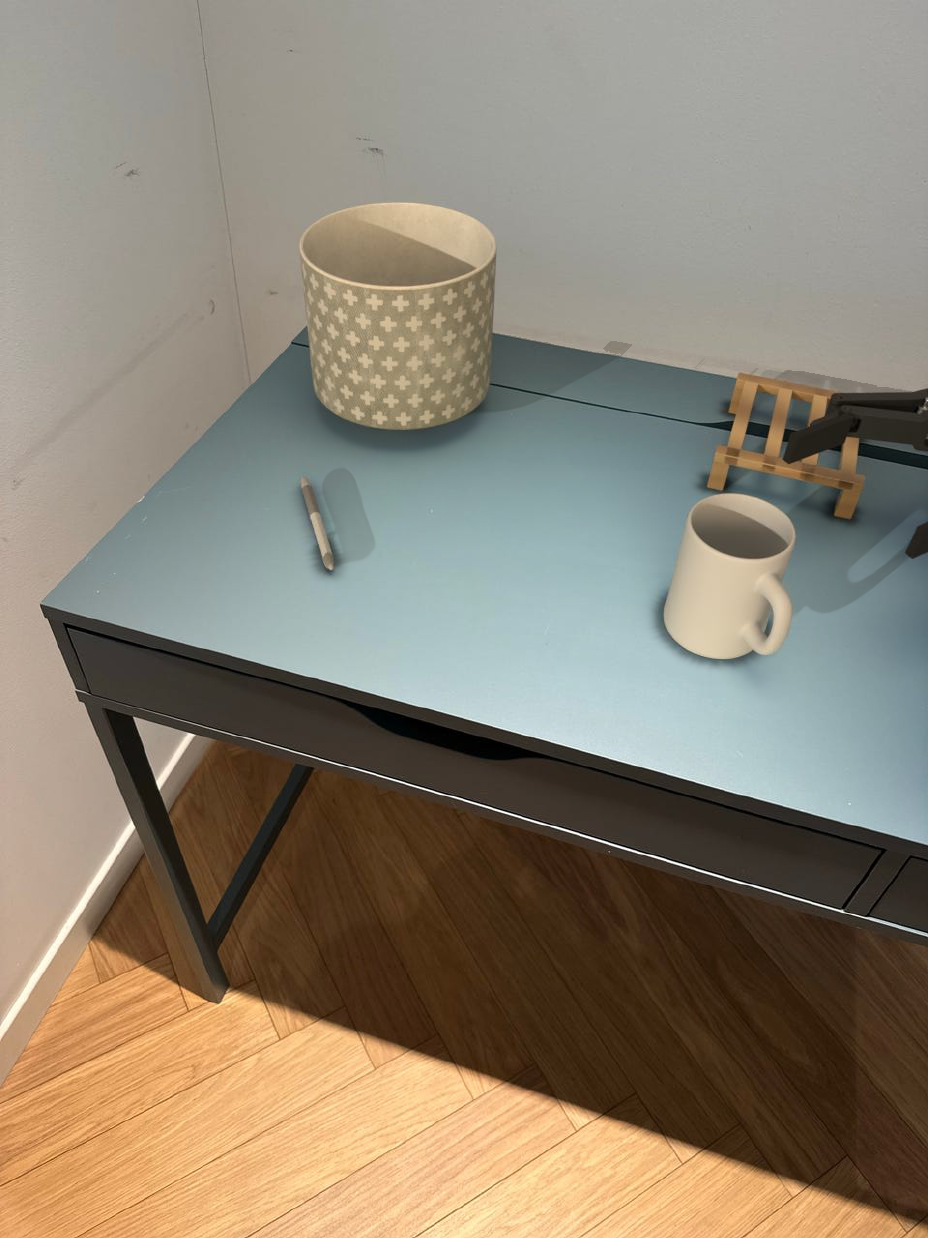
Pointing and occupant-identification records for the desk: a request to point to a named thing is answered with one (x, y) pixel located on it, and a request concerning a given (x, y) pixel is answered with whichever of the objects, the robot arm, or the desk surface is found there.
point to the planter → (399, 313)
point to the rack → (770, 459)
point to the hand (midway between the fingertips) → (848, 493)
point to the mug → (731, 578)
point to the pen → (317, 523)
